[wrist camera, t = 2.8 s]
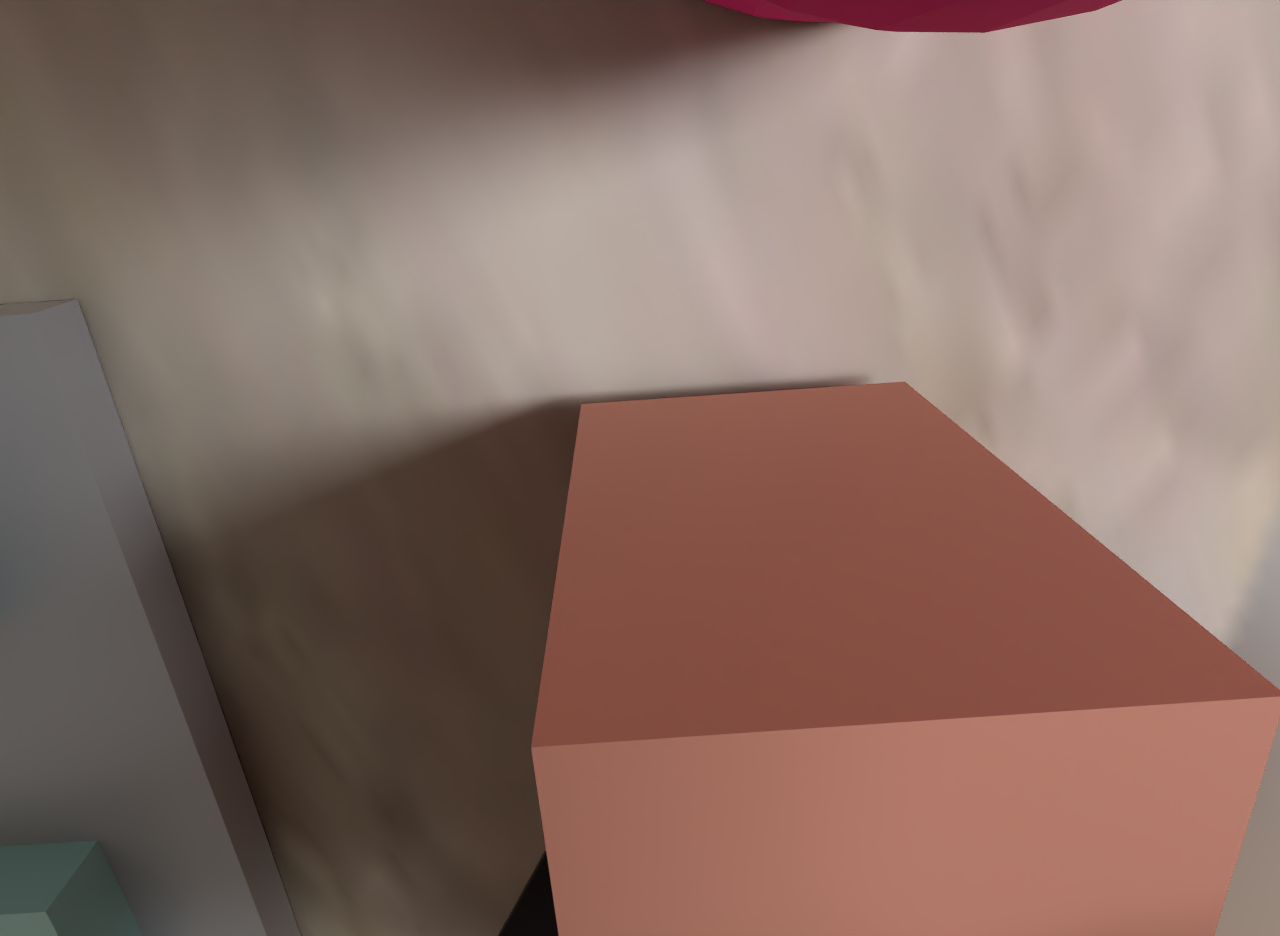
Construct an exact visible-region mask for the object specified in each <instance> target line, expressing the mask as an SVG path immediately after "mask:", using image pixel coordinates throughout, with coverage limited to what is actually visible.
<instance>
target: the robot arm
mask: <svg viewBox="0 0 1280 936" xmlns="http://www.w3.org/2000/svg"><path fill="white" fill-rule="evenodd" d="M498 936H559V935H558V928H557V921H556V914H555V907H554V901H553V894H552V887H551V880H550V873H549V866H548V860H547V853H546V850H545V852H544V853H543V855H542V857H541V859H540V861H539V862H538V864H537V866H536V868H535V870H534V871H533V873H532V875H531V877H530V879H529V880H528V882H527V884H526V886H525V888H524V890H523V891H522V893H521V895H520V897H519V899H518V900H517V902H516V904H515V906H514V908H513V909H512V911H511V913H510V915H509V917H508V918H507V920H506V922H505V924H504V926H503V927H502V929H501V931H500V933H499V935H498Z"/></svg>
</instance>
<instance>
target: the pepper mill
mask: <svg viewBox="0 0 1280 936" xmlns="http://www.w3.org/2000/svg"><path fill="white" fill-rule="evenodd" d="M704 1H706V2H709V3H712V4H716V5H719V6H722V7H726V8H729V9H732V10H736V11H739V12H742V13H746V14H749V15H752V16H756V17H760V18H770V19H781V20H792V21H808V22H836V23H842V24H847V25H853V26H858V27H863V28H869V29H874V30H884V31H896V32H980V33H985V32H990V31H995V30H1000V29H1005V28H1010V27H1015V26H1020V25H1025V24H1030V23H1035V22H1040V21H1045V20H1050V19H1055V18H1060V17H1065V16H1070V15H1075V14H1080V13H1085V12H1091V11H1095V10H1098V9H1101V8H1103V7H1106V6H1108V5H1111V4H1114V3H1116V2H1119V1H1121V0H704Z"/></svg>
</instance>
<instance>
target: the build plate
mask: <svg viewBox="0 0 1280 936" xmlns="http://www.w3.org/2000/svg"><path fill="white" fill-rule="evenodd" d="M0 936H301V934H300V932H299V929H298V926H297V923H296V920H295V917H294V915H293V912H292V909H291V906H290V903H289V900H288V897H287V895H286V892H285V889H284V886H283V883H282V880H281V877H280V875H279V872H278V869H277V866H276V863H275V860H274V858H273V855H272V852H271V849H270V846H269V843H268V840H267V838H266V835H265V832H264V829H263V826H262V823H261V820H260V818H259V815H258V812H257V809H256V806H255V803H254V801H253V798H252V795H251V792H250V789H249V786H248V783H247V781H246V778H245V775H244V772H243V769H242V766H241V764H240V761H239V758H238V755H237V752H236V749H235V746H234V744H233V741H232V738H231V735H230V732H229V729H228V726H227V724H226V721H225V718H224V715H223V712H222V709H221V707H220V704H219V701H218V698H217V695H216V692H215V689H214V687H213V684H212V681H211V678H210V675H209V672H208V669H207V667H206V664H205V661H204V658H203V655H202V652H201V650H200V647H199V644H198V641H197V638H196V635H195V632H194V630H193V627H192V624H191V621H190V618H189V615H188V612H187V610H186V607H185V604H184V601H183V598H182V595H181V593H180V590H179V587H178V584H177V581H176V578H175V575H174V573H173V570H172V567H171V564H170V561H169V558H168V555H167V553H166V550H165V547H164V544H163V541H162V538H161V536H160V533H159V530H158V527H157V524H156V521H155V518H154V516H153V513H152V510H151V507H150V504H149V501H148V498H147V496H146V493H145V490H144V487H143V484H142V481H141V479H140V476H139V473H138V470H137V467H136V464H135V461H134V459H133V456H132V453H131V450H130V447H129V444H128V441H127V439H126V436H125V433H124V430H123V427H122V424H121V422H120V419H119V416H118V413H117V410H116V407H115V404H114V402H113V399H112V396H111V393H110V390H109V387H108V384H107V382H106V379H105V376H104V373H103V370H102V367H101V365H100V362H99V359H98V356H97V353H96V350H95V347H94V345H93V342H92V339H91V336H90V333H89V330H88V328H87V325H86V322H85V319H84V316H83V313H82V310H81V308H80V305H79V302H78V299H73V300H59V301H44V302H30V303H15V304H1V305H0Z"/></svg>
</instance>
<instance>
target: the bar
mask: <svg viewBox="0 0 1280 936" xmlns="http://www.w3.org/2000/svg"><path fill="white" fill-rule="evenodd" d="M1279 721H1280V690H1279V689H1278V688H1277V687H1275V686H1274V685H1273V684H1271V682H1269V681H1268V680H1267V679H1266V678H1264V677H1263V676H1262V675H1261V674H1260V673H1258V672H1257V671H1256V670H1255V669H1254V668H1252V667H1251V666H1250V665H1249V664H1247V663H1246V662H1245V661H1244V660H1242V659H1241V658H1240V657H1239V656H1238V655H1237V654H1235V653H1234V652H1233V651H1232V650H1230V649H1229V648H1228V647H1227V646H1226V645H1224V644H1223V643H1222V642H1221V641H1219V640H1218V639H1217V638H1216V637H1215V636H1213V635H1212V634H1211V633H1210V632H1209V631H1207V630H1206V629H1205V628H1204V627H1202V626H1201V625H1200V624H1199V623H1198V622H1196V621H1195V620H1194V619H1193V618H1192V617H1190V616H1189V615H1188V614H1187V613H1185V612H1184V611H1183V610H1182V609H1181V608H1179V607H1178V606H1177V605H1176V604H1174V603H1173V602H1172V601H1171V600H1170V599H1168V598H1167V597H1166V596H1165V595H1164V594H1162V593H1161V592H1160V591H1159V590H1157V589H1156V588H1155V587H1154V586H1153V585H1151V584H1150V583H1149V582H1148V581H1147V580H1145V579H1144V578H1143V577H1142V576H1140V575H1139V574H1138V573H1137V572H1136V571H1134V570H1133V569H1132V568H1131V567H1129V566H1128V565H1127V564H1126V563H1125V562H1123V561H1122V560H1121V559H1120V558H1119V557H1117V556H1116V555H1115V554H1114V553H1112V552H1111V551H1110V550H1109V549H1108V548H1106V547H1105V546H1104V545H1103V544H1102V543H1100V542H1099V541H1098V540H1097V539H1095V538H1094V537H1093V536H1092V535H1091V534H1089V533H1088V532H1087V531H1086V530H1084V529H1083V528H1082V527H1081V526H1080V525H1078V524H1077V523H1076V522H1075V521H1074V520H1072V519H1071V518H1070V517H1069V516H1067V515H1066V514H1065V513H1064V512H1063V511H1061V510H1060V509H1059V508H1058V507H1057V506H1055V505H1054V504H1053V503H1052V502H1050V501H1049V500H1048V499H1047V498H1046V497H1044V496H1043V495H1042V494H1041V493H1040V492H1038V491H1037V490H1036V489H1035V488H1033V487H1032V486H1031V485H1030V484H1029V483H1027V482H1026V481H1025V480H1024V479H1022V478H1021V477H1020V476H1019V475H1018V474H1016V473H1015V472H1014V471H1013V470H1012V469H1010V468H1009V467H1008V466H1007V465H1005V464H1004V463H1003V462H1002V461H1001V460H999V459H998V458H997V457H996V456H995V455H993V454H992V453H991V452H990V451H988V450H987V449H986V448H985V447H984V446H982V445H981V444H980V443H979V442H977V441H976V440H975V439H974V438H973V437H971V436H970V435H969V434H968V433H967V432H965V431H964V430H963V429H962V428H960V427H959V426H958V425H957V424H956V423H954V422H953V421H952V420H951V419H950V418H948V417H947V416H946V415H945V414H943V413H942V412H941V411H940V410H939V409H937V408H936V407H935V406H934V405H932V404H931V403H930V402H929V401H928V400H926V399H925V398H924V397H923V396H922V395H920V394H919V393H918V392H917V391H915V390H914V389H913V388H912V387H911V386H909V385H908V384H907V383H906V382H895V383H880V384H866V385H851V386H836V387H822V388H807V389H793V390H778V391H763V392H749V393H734V394H720V395H705V396H690V397H676V398H661V399H647V400H632V401H617V402H603V403H588V404H581V409H580V416H579V423H578V430H577V437H576V444H575V450H574V457H573V464H572V471H571V478H570V485H569V491H568V498H567V505H566V512H565V519H564V525H563V532H562V539H561V546H560V553H559V560H558V566H557V573H556V580H555V587H554V594H553V601H552V607H551V614H550V621H549V628H548V635H547V642H546V648H545V655H544V662H543V669H542V676H541V683H540V689H539V696H538V703H537V710H536V717H535V723H534V730H533V737H532V744H531V751H532V758H533V764H534V771H535V778H536V785H537V792H538V798H539V805H540V812H541V819H542V826H543V832H544V839H545V846H546V853H547V860H548V866H549V873H550V880H551V887H552V894H553V901H554V907H555V914H556V921H557V928H558V935H559V936H1214V935H1215V931H1216V928H1217V925H1218V921H1219V918H1220V915H1221V911H1222V908H1223V905H1224V902H1225V898H1226V895H1227V892H1228V888H1229V885H1230V882H1231V879H1232V875H1233V872H1234V869H1235V865H1236V862H1237V859H1238V856H1239V852H1240V849H1241V845H1242V842H1243V839H1244V836H1245V832H1246V829H1247V826H1248V823H1249V819H1250V816H1251V813H1252V809H1253V806H1254V803H1255V800H1256V796H1257V793H1258V790H1259V787H1260V783H1261V780H1262V777H1263V773H1264V770H1265V767H1266V763H1267V760H1268V756H1269V753H1270V750H1271V747H1272V743H1273V740H1274V737H1275V734H1276V731H1277V727H1278V724H1279Z"/></svg>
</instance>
